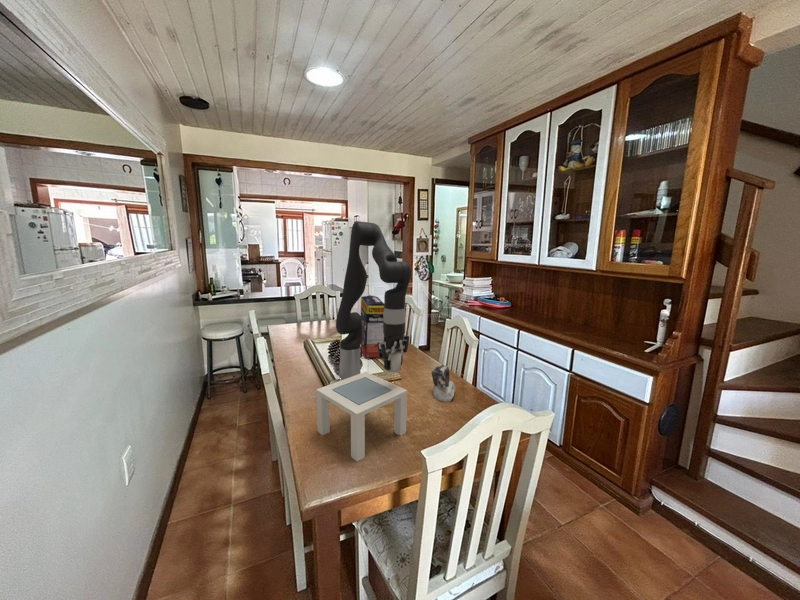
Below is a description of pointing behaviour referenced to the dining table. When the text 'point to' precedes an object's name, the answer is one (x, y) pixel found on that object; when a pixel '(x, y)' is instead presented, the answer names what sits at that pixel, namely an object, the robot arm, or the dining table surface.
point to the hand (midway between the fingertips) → (393, 367)
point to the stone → (442, 384)
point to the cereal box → (371, 325)
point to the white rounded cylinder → (395, 361)
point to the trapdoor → (361, 391)
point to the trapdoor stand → (360, 410)
